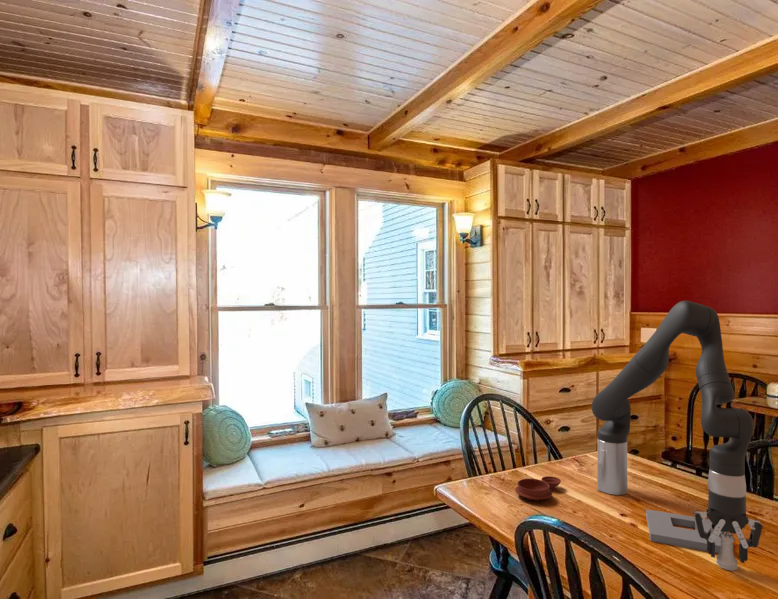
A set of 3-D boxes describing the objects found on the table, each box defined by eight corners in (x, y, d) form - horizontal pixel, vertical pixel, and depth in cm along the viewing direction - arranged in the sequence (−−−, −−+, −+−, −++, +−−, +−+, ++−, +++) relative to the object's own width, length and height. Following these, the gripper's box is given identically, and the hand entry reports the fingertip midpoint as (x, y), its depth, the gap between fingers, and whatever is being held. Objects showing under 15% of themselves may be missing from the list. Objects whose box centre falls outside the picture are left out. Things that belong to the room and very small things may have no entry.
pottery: (508, 497, 157) (507, 483, 157) (541, 481, 170) (540, 469, 170) (539, 508, 148) (539, 494, 148) (571, 491, 161) (571, 478, 161)
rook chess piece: (711, 561, 118) (711, 529, 118) (728, 560, 118) (728, 528, 118) (725, 572, 114) (725, 538, 114) (743, 571, 114) (743, 538, 114)
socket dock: (650, 541, 128) (650, 533, 128) (646, 515, 143) (646, 509, 143) (731, 555, 121) (731, 547, 121) (717, 527, 135) (717, 520, 135)
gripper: (694, 490, 115) (695, 559, 116) (768, 500, 110) (768, 573, 110) (689, 479, 122) (690, 545, 122) (758, 488, 116) (758, 557, 116)
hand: (727, 558), depth 116 cm, fingers open, 5 cm apart
